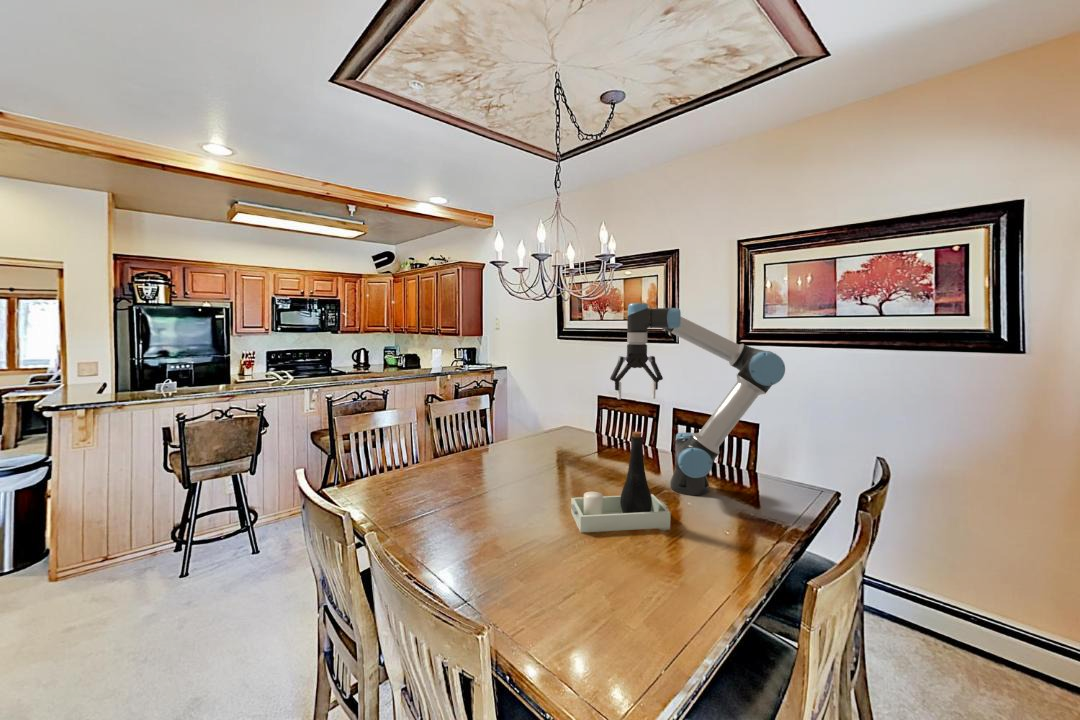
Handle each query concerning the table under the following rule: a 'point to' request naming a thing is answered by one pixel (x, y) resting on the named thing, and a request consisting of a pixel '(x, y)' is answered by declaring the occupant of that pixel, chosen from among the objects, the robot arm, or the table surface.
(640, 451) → the bottle
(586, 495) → the cream capsule cylinder
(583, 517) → the tote
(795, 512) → the table surface
